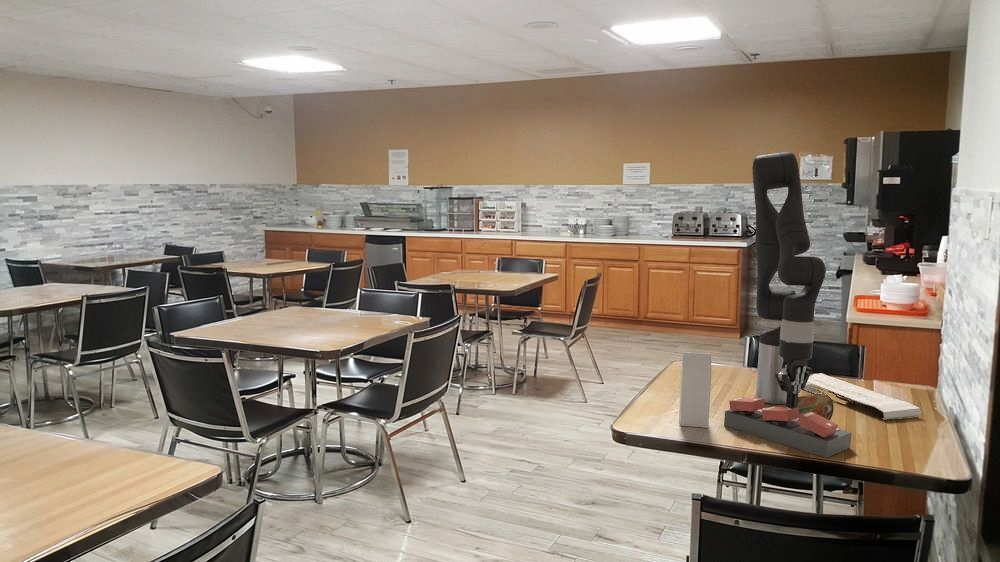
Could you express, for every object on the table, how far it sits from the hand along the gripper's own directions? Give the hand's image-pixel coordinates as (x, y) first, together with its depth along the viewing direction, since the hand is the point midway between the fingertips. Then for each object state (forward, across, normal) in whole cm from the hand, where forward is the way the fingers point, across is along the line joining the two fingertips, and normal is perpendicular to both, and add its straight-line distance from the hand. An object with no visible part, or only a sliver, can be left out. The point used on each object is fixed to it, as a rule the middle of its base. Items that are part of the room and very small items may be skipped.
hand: (791, 407), depth 178 cm
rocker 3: (+3, 0, +7) cm, 7 cm away
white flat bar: (+9, -50, -10) cm, 51 cm away
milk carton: (+9, +8, -23) cm, 26 cm away
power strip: (+9, -3, -3) cm, 10 cm away
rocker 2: (+3, 0, -3) cm, 4 cm away
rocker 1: (+3, 0, -12) cm, 13 cm away
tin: (+9, -16, -4) cm, 19 cm away
